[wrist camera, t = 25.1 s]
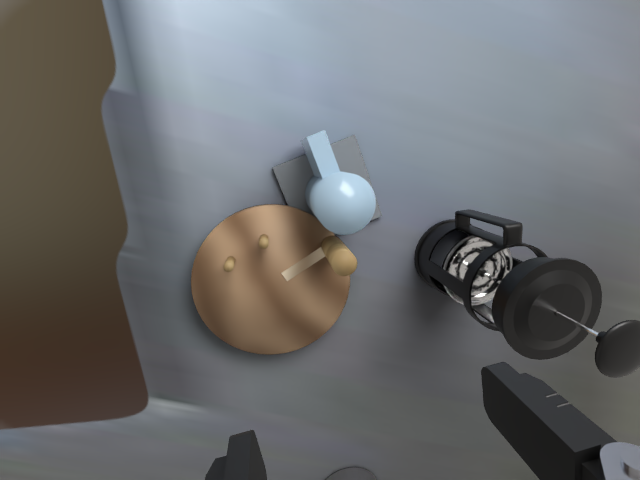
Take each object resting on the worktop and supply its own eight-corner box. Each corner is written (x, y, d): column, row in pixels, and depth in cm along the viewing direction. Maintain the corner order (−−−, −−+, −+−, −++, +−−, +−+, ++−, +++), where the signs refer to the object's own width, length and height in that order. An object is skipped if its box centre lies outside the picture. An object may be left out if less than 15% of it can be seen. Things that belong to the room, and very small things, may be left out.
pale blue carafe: (359, 207, 40) (383, 220, 31) (315, 225, 40) (328, 244, 31) (330, 128, 38) (349, 119, 29) (284, 147, 37) (288, 144, 29)
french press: (481, 288, 46) (678, 409, 24) (415, 297, 45) (557, 434, 23) (483, 202, 43) (711, 249, 21) (413, 210, 42) (575, 269, 20)
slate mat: (380, 215, 41) (382, 215, 41) (304, 246, 41) (305, 247, 40) (353, 135, 39) (355, 134, 38) (272, 167, 38) (272, 167, 38)
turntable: (295, 171, 38) (303, 175, 29) (374, 294, 43) (399, 326, 34) (160, 262, 38) (130, 290, 30) (254, 373, 43) (251, 424, 35)
